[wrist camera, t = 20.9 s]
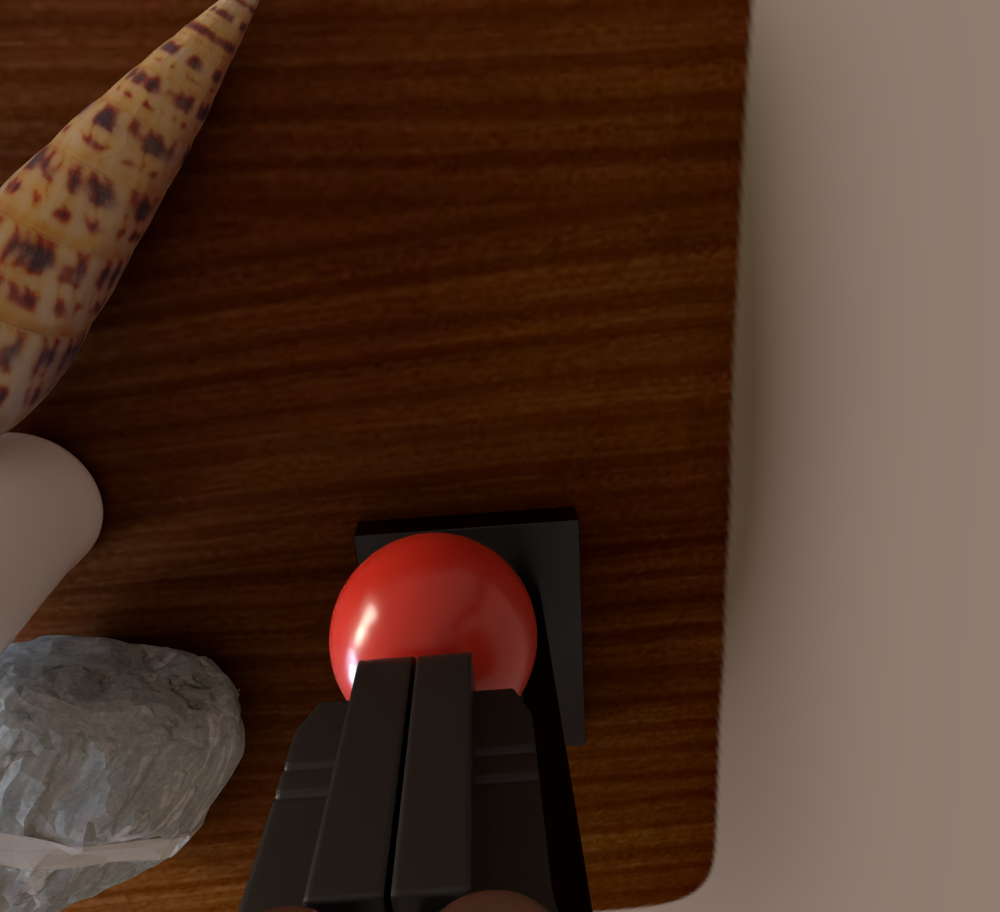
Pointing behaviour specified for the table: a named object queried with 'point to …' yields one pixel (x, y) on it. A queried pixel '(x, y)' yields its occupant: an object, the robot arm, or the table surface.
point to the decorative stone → (105, 762)
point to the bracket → (558, 662)
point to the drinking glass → (40, 524)
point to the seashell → (99, 201)
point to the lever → (436, 610)
